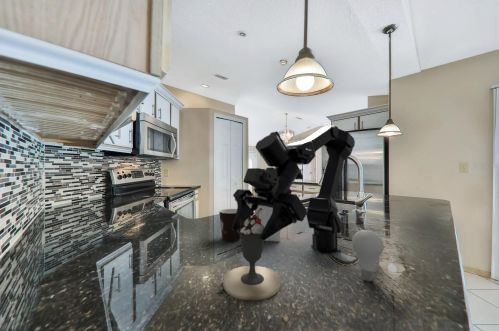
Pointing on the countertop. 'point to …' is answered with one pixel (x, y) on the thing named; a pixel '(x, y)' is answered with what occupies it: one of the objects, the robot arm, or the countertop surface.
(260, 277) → the sundae
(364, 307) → the countertop surface
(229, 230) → the coffee mug
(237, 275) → the coaster
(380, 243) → the lightbulb
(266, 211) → the supplement box
